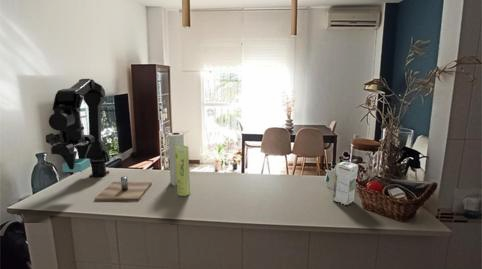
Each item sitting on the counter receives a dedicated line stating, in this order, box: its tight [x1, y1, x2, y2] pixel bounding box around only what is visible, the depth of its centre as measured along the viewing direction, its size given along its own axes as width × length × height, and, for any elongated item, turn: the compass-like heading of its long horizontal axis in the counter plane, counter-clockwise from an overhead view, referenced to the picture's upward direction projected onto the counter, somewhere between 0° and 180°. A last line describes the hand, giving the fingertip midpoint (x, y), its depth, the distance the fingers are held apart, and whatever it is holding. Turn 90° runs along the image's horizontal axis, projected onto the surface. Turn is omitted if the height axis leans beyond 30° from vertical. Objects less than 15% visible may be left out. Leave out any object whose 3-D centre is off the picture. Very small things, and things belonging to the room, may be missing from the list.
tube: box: [175, 144, 191, 197], centre depth 112 cm, size 6×5×20 cm
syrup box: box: [332, 161, 359, 204], centre depth 107 cm, size 6×6×14 cm
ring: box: [61, 158, 91, 173], centre depth 110 cm, size 7×7×3 cm
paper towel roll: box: [168, 131, 185, 187], centre depth 123 cm, size 7×6×21 cm
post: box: [120, 176, 129, 191], centre depth 114 cm, size 2×2×5 cm
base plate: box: [94, 181, 153, 202], centre depth 115 cm, size 16×16×1 cm
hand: (76, 166), depth 110 cm, fingers closed on ring, 7 cm apart
